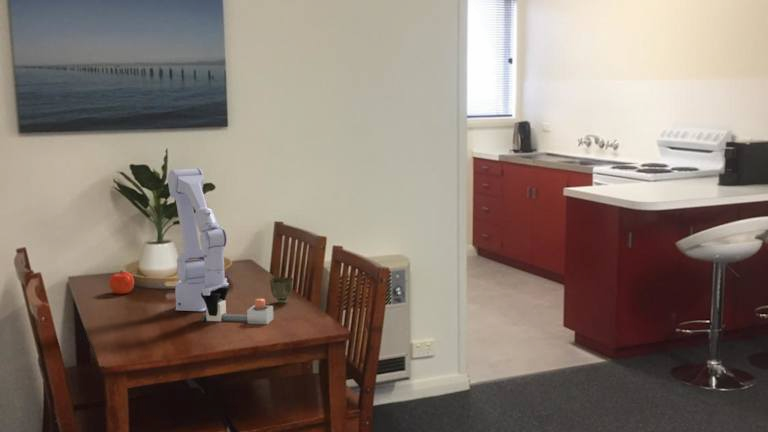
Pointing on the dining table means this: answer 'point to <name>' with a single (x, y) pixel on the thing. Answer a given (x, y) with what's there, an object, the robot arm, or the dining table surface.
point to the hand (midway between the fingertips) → (216, 313)
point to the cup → (281, 289)
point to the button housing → (260, 315)
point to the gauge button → (259, 303)
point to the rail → (230, 317)
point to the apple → (121, 283)
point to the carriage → (220, 311)
